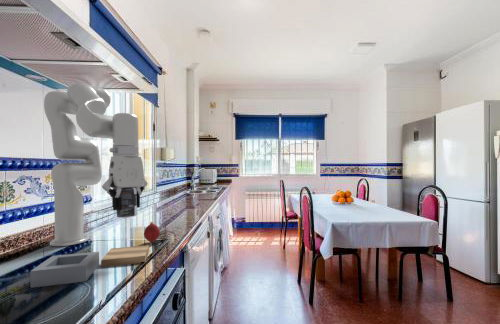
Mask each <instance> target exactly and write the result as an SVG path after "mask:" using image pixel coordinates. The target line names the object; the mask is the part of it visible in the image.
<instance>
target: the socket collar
mask: <svg viewBox="0 0 500 324" xmlns="http://www.w3.org/2000/svg"><path fill="white" fill-rule="evenodd" d="M99 266H100V251H92V252H90V251H89V252H81V253H71V254H59V255H52V256H50V257H49V258H48V259H46V260H44V261H43V262H41V263H40V264H38V265H37V266H36V267H34V268H33V269H31V270H30V274H29V275H30V279H29V280H30V283H29V284H30V286H29V287H30V288H40V287H48V286H50V287H51V286H58V285H65V284H73V283H83V282H87V281H88V280H89V278H90V277H91V276H92V274H94V272H95V271H96V270H97V268H98V267H99Z"/></svg>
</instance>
